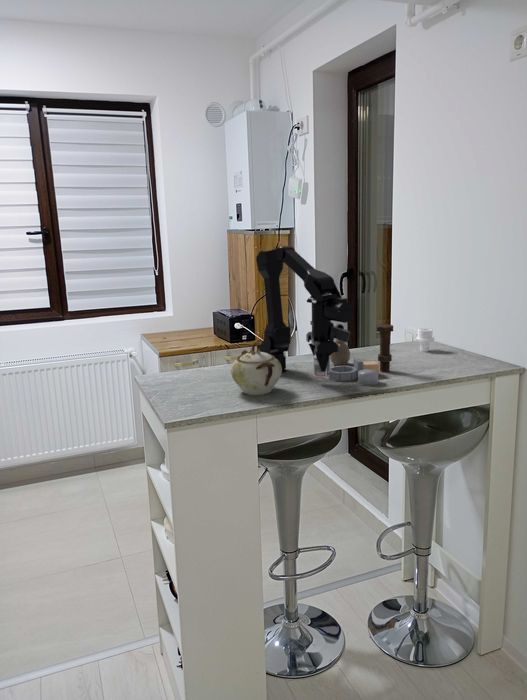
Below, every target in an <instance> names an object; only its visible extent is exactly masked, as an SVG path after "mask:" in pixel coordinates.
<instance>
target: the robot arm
mask: <svg viewBox="0 0 527 700" xmlns="http://www.w3.org/2000/svg"><path fill="white" fill-rule="evenodd" d="M255 260H256V265H257V271H258V272H259V274H260V276H262V278H263V283H264V294H265V304H266V315H267V325H265V326H266V327H265V329H264V331H263V339H262V342H261V343H259V346H260V352H265V353H267V354H271V355H273V356H274V357H275V358H276V359H277V360H278V361H279V362H280V364H281V367H282V373H285V372H286V368H287V362H286V361H287V360H286V358H287V357H286V356H285V352H289V348H290V344H291V341H292V340H291V339H292V335H291V327H290V326H287V325H286V324H285V322H284V316H283V304H282V293H281V284H280V283H281V282H280V276H281V274H282V272H283V270H284V264H285V265H286V266H287V267H288V268H289V269H291V270H292V272H294V273H295V274H296V275H297V276H298V277H299V278H300V279H301V280H302V281H303V286H304V288H305V290H306V291H307V293H309V295H310V296H309V297H308V298H307V299H306V302H307V303H310V304H311V320H310V325H311V331H308V332H307V333H306V336H305V340H306V342H307V343H308V346H309V348H310V350H311V353H312V355H313V357H314V355H316V358H317V361H318V363H319V366H320V369H321V371H322V372H325V371H326V367H327V364H328V360H329V357H330V355H331V354H332V353H334V352H338V345H337V344H336V343H335V342H336V341H335V340H336V339H338V340H342V341H343V342H345V343H346V344H347V343H348V342H349V339H350V336H351V334H352V333H351V331H350V330H348V329H344V328H345V327H344V325H343V324H341V323H344V324H345V323H348V322H350V321H351V319H352V318H353V314H354V310H353V307H352V305H351V304H350V303H349V302H348V298H347V297H343V298H342V296H341V293H340V291H339V289H338V287H337V285H336V283H335V279H334V278H333V277H332V276H331V275H330V274H327V273H326V272H324V271H321V270H318V269H316V268H315V267H314V266H313V265H311V264H310V263H309V262H308V261H307V260H306V259H305V258H304V257H302V255H300V254H299V253H298V252H297V251H296V250H295V248H294V247H293V246H291V245H288V246H286V245H284V246H279V247H277V248H274V249H271V250H270V249H269V250H260V251H259V252H258V253H257V255H256V259H255ZM333 322H337V324H336V325H334V323H333ZM338 322H339V323H338Z"/></svg>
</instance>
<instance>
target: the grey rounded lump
mask: <svg viewBox="0 0 527 700" xmlns="http://www.w3.org/2000/svg"><path fill="white" fill-rule="evenodd" d="M357 383H358V384H359V385H361V386H375V385H378V383H379V376H378V371H376V370H371V369H364V370H359V371H358V378H357Z"/></svg>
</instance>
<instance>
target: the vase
mask: <svg viewBox="0 0 527 700" xmlns="http://www.w3.org/2000/svg"><path fill="white" fill-rule="evenodd" d="M334 342H335V343H336V344H337V345H338V352H334V353H332V354H331V355H330V361H331V362H330V363H331V364H333V365H334V366H347V364H348V363H349V361H350V359H351V358H350V357H351V351H350V348H349V346H348V345H347V343H346V342H343V341H342V340H338V339H335V341H334Z"/></svg>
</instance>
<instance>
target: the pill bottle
mask: <svg viewBox="0 0 527 700" xmlns="http://www.w3.org/2000/svg"><path fill="white" fill-rule="evenodd" d="M330 361H331V359H330V357H329V360H328V364H327V367H326V371H325V372H322V371H321V369H320V366H319V363H318V361H317V358H316V355H314V356H313V375H314V376H315V378H328V376H329V375H330V367H331V362H330Z"/></svg>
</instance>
